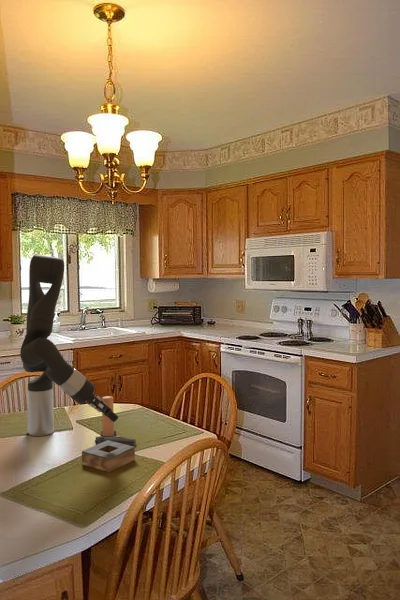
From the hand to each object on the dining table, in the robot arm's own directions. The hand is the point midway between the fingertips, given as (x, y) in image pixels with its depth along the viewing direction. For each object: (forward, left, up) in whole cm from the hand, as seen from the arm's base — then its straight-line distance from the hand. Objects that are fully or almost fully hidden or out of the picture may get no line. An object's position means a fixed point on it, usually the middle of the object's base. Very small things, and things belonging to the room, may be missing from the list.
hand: (113, 417), depth 159 cm
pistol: (-12, +15, -15) cm, 25 cm away
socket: (-1, -2, -14) cm, 15 cm away
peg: (-1, -2, -5) cm, 5 cm away
